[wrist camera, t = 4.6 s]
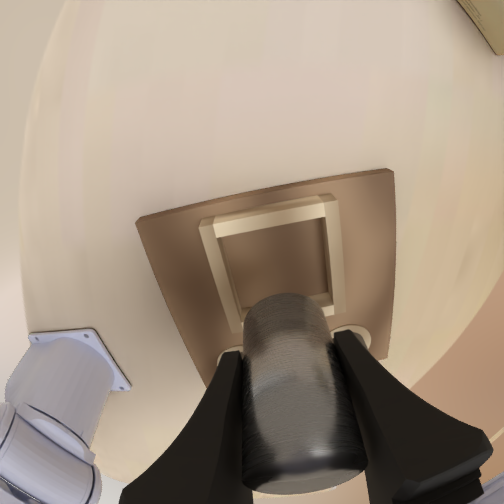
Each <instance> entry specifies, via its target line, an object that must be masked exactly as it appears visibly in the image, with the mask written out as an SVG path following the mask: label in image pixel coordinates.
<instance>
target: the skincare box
mask: <svg viewBox="0 0 504 504" xmlns="http://www.w3.org/2000/svg"><path fill="white" fill-rule="evenodd" d="M457 1H458V2H459V3H460V4H461V6H462V7H463V8H464V9H465V11H466V12H467V13H468V15H469V16H470V17H471V18H472V20H473V21H474V23H475V24H476V25H477V27H478V28H479V30H480V31H481V32H482V34H483V35H484V37H485V38H486V40H487V41H488V43H489V44H490V46H491V47H492V49H493V51H494V52H495V53H496V55H504V0H457Z"/></svg>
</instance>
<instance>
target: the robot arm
mask: <svg viewBox="0 0 504 504" xmlns="http://www.w3.org/2000/svg"><path fill="white" fill-rule="evenodd" d="M28 339H29V340H30V342H31V343H32V344H31V346H30V347H29V349H28V350H27V352H26V353H25V355H24V356H23V358H22V359H21V361H20V363H19V364H18V365H17V367H16V368H15V370H14V371H13V373H12V375H11V376H10V378H9V380H8V382H7V384H6V389H5V401H6V403H0V477H2V478H3V479H5V480H6V481H8V482H9V483H11V484H12V485H14V486H15V487H17V488H18V489H17V488H15V487H14V486H12V485H11V484H9V483H8V482H6V481H5V480H3V479H2V478H0V504H98V502H99V499H100V496H101V492H102V481H101V475H100V471H99V469H98V467H97V466H96V465H95V464H94V463H93V462H94V459H95V455H96V454H95V453H93V452H92V451H90V450H89V449H90V446H91V443H92V440H93V437H94V434H95V431H96V428H97V425H98V422H99V420H100V417H101V414H102V411H103V409H104V406H105V403H106V400H107V398H108V395H109V392H110V391H130V390H131V385H130V384H129V382H128V381H127V380H126V378H125V377H124V375H123V374H122V372H121V371H120V369H119V368H118V366H117V365H116V363H115V362H114V360H113V359H112V357H111V356H110V354H109V353H108V351H107V349H106V348H105V346H104V345H103V343H102V341H101V340H100V338H99V337H98V335H97V333H96V332H95V331H94V330H93V329H81V330H70V331H58V332H45V333H30V334H29V335H28ZM334 345H335V348H336V351H337V355H338V358H339V361H340V364H341V367H342V370H343V374H344V377H345V380H346V383H347V387H348V390H349V393H350V397H351V400H352V404H353V407H354V410H355V414H356V417H357V421H358V425H359V428H360V432H361V435H362V439H363V443H364V446H365V450H366V454H367V458H368V465H367V467H366V468H365V475H366V481H367V488H368V494H369V501H370V504H504V472H502V473H500V474H498V475H497V476H495V477H494V478H492V479H491V480H489V481H487V482H486V483H484V484H482V485H481V483H480V480H479V477H481V472H480V470H479V467H480V466H482V464H484V463H485V461H487V460H488V458H489V457H490V456H491V455H492V453H493V447H492V445H491V443H490V441H489V439H488V438H487V436H486V435H485V433H484V432H483V430H481V429H478V428H476V427H473V426H471V425H468V424H466V423H464V422H461V421H459V420H457V419H455V418H453V417H451V416H449V415H447V414H446V413H444V412H442V411H440V410H439V409H437V408H435V407H434V406H432V405H430V404H429V403H427V402H426V401H424V400H423V399H421V398H420V397H418V396H417V395H416V394H414V393H413V392H412V391H410V390H409V389H408V388H406V387H405V386H404V385H403V384H402V383H400V382H399V381H398V380H397V379H396V378H395V377H394V376H393V375H391V374H390V373H389V372H388V371H387V370H386V369H385V368H384V367H383V366H382V365H381V364H380V363H379V362H378V361H377V360H376V359H375V358H374V357H373V356H372V355H371V353H370V352H369V351H368V350H367V349H366V348H365V347H364V346H363V344H362V343H361V342H360V341H359V340H358V338H357V337H356V336H355V334H354V333H353V332H352V331H351V330H350V329H347V330H343V331H338V332H334ZM242 377H243V359H242V357H241V354H240V351H239V350H237V351H230V352H224V353H223V354H222V356H221V358H220V361H219V363H218V366H217V368H216V371H215V373H214V375H213V377H212V380H211V382H210V384H209V386H208V388H207V390H206V392H205V394H204V396H203V398H202V399H201V401H200V403H199V405H198V406H197V408H196V410H195V411H194V413H193V415H192V416H191V418H190V419H189V421H188V423H187V424H186V425H185V427H184V428H183V430H182V431H181V432H180V434H179V435H178V436H177V438H176V439H175V440H174V441H173V443H172V444H171V445H170V446H169V447H168V449H167V450H166V451H165V452H164V453H163V454H162V455H161V456H160V457H159V458H158V459H157V460H156V461H155V462H154V463H153V464H152V465H151V466H150V467H149V468H148V469H147V470H146V471H145V472H144V473H142V474H141V475H140V476H139V477H138V478H136V479H135V480H134V481H133V482H131V483H130V484H129V485H127V486H126V487H125V488H124V489H123V490H122V493H121V496H120V500H119V504H253V494H252V490H251V489H249V488H247V487H246V486H244V485H243V483H242ZM19 489H20V490H21V491H23V492H25V493H26V494H25V493H23V492H21V491H20V490H19ZM27 494H28V495H30V496H31V497H30V496H28V495H27ZM32 497H33V498H35V499H37V500H38V501H37V500H35V499H33V498H32ZM39 501H40V502H39Z"/></svg>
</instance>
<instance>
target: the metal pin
mask: <svg viewBox="0 0 504 504" xmlns="http://www.w3.org/2000/svg"><path fill="white" fill-rule="evenodd" d="M367 465H368V458H367V454H366V450H365V446H364V443H363V439H362V435H361V432H360V428H359V425H358V421H357V417H356V414H355V410H354V407H353V404H352V400H351V397H350V393H349V390H348V387H347V383H346V380H345V377H344V374H343V370H342V367H341V364H340V361H339V358H338V355H337V351H336V348H335V345H334V342H333V339H332V336H331V333H330V330H329V327H328V324H327V321H326V318H325V315H324V312H323V310H322V308H321V307H320V305H319V304H318V303H317V302H316V301H314V300H313V299H311V298H310V297H307V296H305V295H302V294H297V293H280V294H275V295H271V296H269V297H266V298H264V299H262V300H260V301H259V302H257V303H256V304H255V305H254V306H253V307H252V308H251V309H250V310H249V311H248V313H247V315H246V317H245V319H244V324H243V377H242V483H243V485H244V486H246V487H247V488H249V489H251V490H254V491H257V492H261V493H267V494H279V495H289V494H302V493H309V492H315V491H319V490H324V489H327V488H331V487H334V486H337V485H339V484H342V483H344V482H346V481H349V480H350V479H352V478H354V477H356V476H357V475H359V474H360V473H361V472H363V470H365V468H366V467H367Z"/></svg>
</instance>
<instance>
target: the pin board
mask: <svg viewBox="0 0 504 504" xmlns="http://www.w3.org/2000/svg"><path fill="white" fill-rule="evenodd" d="M135 224H136V227H137V230H138V232H139V235H140V238H141V241H142V243H143V246H144V249H145V251H146V254H147V257H148V259H149V262H150V264H151V267H152V269H153V272H154V275H155V277H156V279H157V282H158V284H159V287H160V289H161V292H162V294H163V296H164V299H165V301H166V303H167V306H168V308H169V310H170V313H171V315H172V317H173V319H174V322H175V324H176V326H177V328H178V331H179V333H180V335H181V337H182V339H183V341H184V343H185V346H186V348H187V350H188V352H189V354H190V356H191V358H192V360H193V362H194V364H195V366H196V368H197V370H198V372H199V374H200V376H201V378H202V380H203V382H204V384H205V386H206V388H208V386H209V384H210V382H211V380H212V377H213V375H214V373H215V371H216V368H217V366H218V363H219V361H220V358H221V356H222V354H223V353H224V352H230V351H237V350H239V351H240V354H241V357H242V359H243V324H244V319H245V317H246V315H247V313H248V311H249V310H250V309H251V308H252V307H253V306H254V305H255V304H256V303H257V302H259V301H260V300H262V299H264V298H266V297H269V296H271V295H275V294H280V293H297V294H302V295H305V296H307V297H310V298H311V299H313V300H314V301H316V302H317V303H318V304H319V305H320V307H321V308H322V310H323V312H324V315H325V318H326V321H327V324H328V327H329V330H330V333H331V336H332V339H333V342H334V332H338V331H343V330H347V329H350V330H351V331H352V332H353V333H354V334H355V336H356V337H357V338H358V340H359V341H360V342H361V343H362V344H363V346H364V347H365V348H366V349H367V350H368V351H369V352H370V353H371V355H372V356H373V357H374V358H375V359H376V360H377V361H378V360H381V359H385V358H387V357H388V350H389V342H390V333H391V324H392V314H393V302H394V287H395V266H396V204H395V183H394V171H391V170H389V169H387V168H386V169H378V170H371V171H364V172H357V173H351V174H344V175H338V176H332V177H326V178H320V179H314V180H308V181H302V182H297V183H291V184H286V185H281V186H275V187H270V188H265V189H260V190H255V191H250V192H245V193H241V194H236V195H231V196H227V197H222V198H218V199H213V200H209V201H204V202H200V203H196V204H191V205H187V206H183V207H179V208H175V209H171V210H167V211H163V212H159V213H155V214H151V215H147V216H143V217H140V218H139V219H138V220H137V221H136V222H135Z"/></svg>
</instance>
